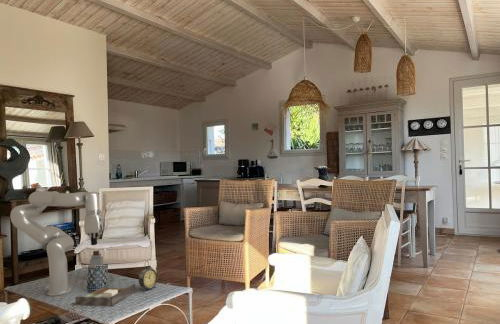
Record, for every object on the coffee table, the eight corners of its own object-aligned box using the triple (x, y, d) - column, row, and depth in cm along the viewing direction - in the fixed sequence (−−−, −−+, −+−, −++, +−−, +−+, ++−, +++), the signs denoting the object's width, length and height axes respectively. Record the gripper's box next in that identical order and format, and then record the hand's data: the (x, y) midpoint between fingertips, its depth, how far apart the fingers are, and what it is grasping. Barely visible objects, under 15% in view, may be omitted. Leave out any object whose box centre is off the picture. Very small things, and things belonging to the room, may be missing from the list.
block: (103, 300, 200) (103, 292, 200) (109, 296, 205) (109, 289, 205) (112, 300, 199) (111, 292, 199) (117, 297, 204) (117, 289, 204)
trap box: (75, 304, 202) (75, 295, 202) (101, 291, 223) (101, 283, 223) (112, 306, 196) (111, 297, 196) (135, 292, 218) (135, 284, 218)
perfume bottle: (103, 276, 254) (102, 249, 255) (101, 279, 248) (100, 251, 248) (93, 277, 253) (91, 250, 254) (90, 280, 247) (89, 252, 247)
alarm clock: (144, 293, 215) (142, 264, 215) (137, 291, 218) (136, 263, 218) (158, 287, 224) (157, 259, 225) (151, 286, 227) (150, 258, 227)
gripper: (107, 212, 225) (109, 243, 225) (85, 212, 229) (87, 243, 229) (99, 213, 218) (101, 246, 218) (77, 214, 222) (78, 246, 222)
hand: (94, 244), depth 223 cm, fingers closed
